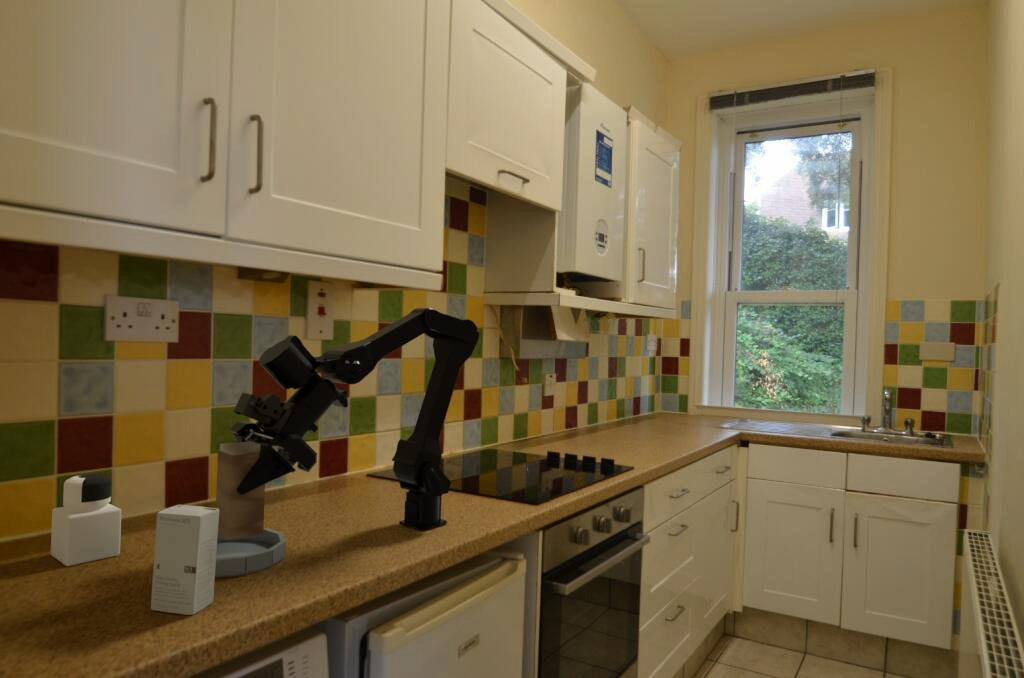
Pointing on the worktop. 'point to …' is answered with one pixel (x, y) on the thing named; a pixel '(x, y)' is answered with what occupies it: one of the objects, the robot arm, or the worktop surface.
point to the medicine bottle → (86, 521)
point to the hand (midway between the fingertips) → (231, 489)
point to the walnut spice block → (235, 509)
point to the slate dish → (249, 553)
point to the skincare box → (184, 559)
